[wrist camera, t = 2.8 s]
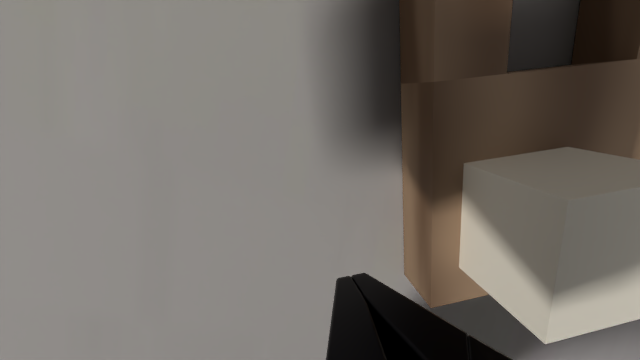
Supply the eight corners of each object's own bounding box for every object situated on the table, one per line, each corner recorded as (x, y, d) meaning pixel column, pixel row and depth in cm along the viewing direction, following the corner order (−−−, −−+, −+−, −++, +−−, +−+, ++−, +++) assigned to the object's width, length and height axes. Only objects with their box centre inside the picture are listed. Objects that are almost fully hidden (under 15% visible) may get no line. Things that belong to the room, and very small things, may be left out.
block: (458, 267, 12) (545, 344, 9) (463, 163, 11) (568, 200, 7) (552, 247, 13) (669, 311, 9) (567, 146, 12) (713, 173, 8)
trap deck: (404, 274, 15) (451, 335, 11) (396, -121, 10) (475, -245, 6) (687, 214, 18) (802, 247, 14) (787, -123, 13) (1005, -212, 9)
